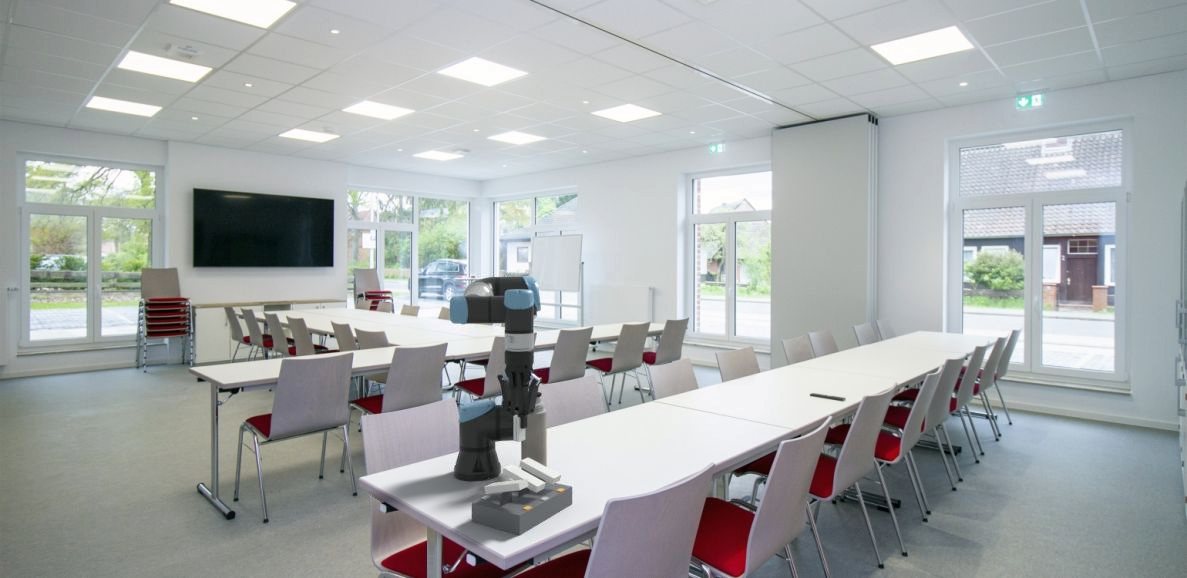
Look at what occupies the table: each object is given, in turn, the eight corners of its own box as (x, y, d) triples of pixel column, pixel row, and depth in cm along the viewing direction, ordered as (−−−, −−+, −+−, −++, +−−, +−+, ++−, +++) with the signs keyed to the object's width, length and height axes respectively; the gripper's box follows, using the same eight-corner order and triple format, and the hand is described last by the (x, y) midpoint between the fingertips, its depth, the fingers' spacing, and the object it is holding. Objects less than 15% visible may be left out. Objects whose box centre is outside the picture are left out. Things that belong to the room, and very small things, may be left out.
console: (471, 521, 160) (471, 491, 160) (527, 493, 180) (527, 466, 180) (519, 535, 152) (519, 503, 151) (572, 504, 172) (572, 476, 172)
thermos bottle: (522, 475, 195) (522, 390, 194) (547, 475, 196) (547, 389, 194) (520, 485, 187) (519, 395, 186) (546, 484, 188) (545, 395, 186)
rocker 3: (519, 466, 174) (520, 460, 173) (526, 463, 177) (528, 457, 177) (552, 484, 168) (553, 478, 168) (559, 480, 171) (561, 474, 171)
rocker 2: (502, 473, 167) (503, 467, 167) (510, 470, 170) (511, 464, 170) (536, 492, 161) (537, 486, 161) (544, 488, 164) (545, 482, 164)
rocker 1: (485, 493, 161) (484, 486, 161) (494, 489, 164) (493, 482, 164) (520, 490, 155) (518, 483, 155) (528, 485, 158) (527, 479, 158)
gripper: (489, 349, 156) (490, 440, 157) (531, 352, 149) (531, 447, 150) (508, 346, 163) (508, 433, 163) (548, 349, 156) (548, 440, 156)
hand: (519, 440), depth 157 cm, fingers closed
